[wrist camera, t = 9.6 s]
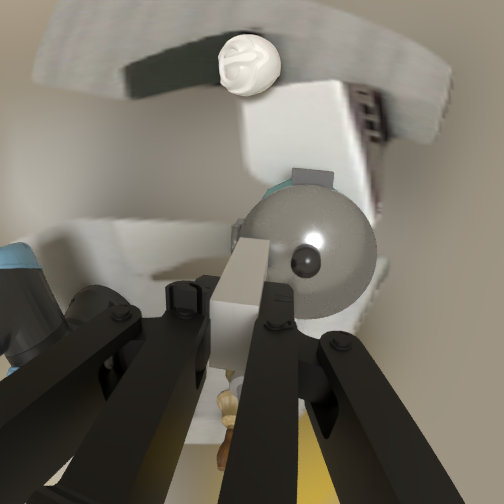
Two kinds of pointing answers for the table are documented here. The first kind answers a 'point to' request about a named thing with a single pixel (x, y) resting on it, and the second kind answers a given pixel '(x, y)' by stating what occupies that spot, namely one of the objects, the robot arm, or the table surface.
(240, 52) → the white swirled ball
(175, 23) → the table surface
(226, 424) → the hand bell
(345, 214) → the lid
